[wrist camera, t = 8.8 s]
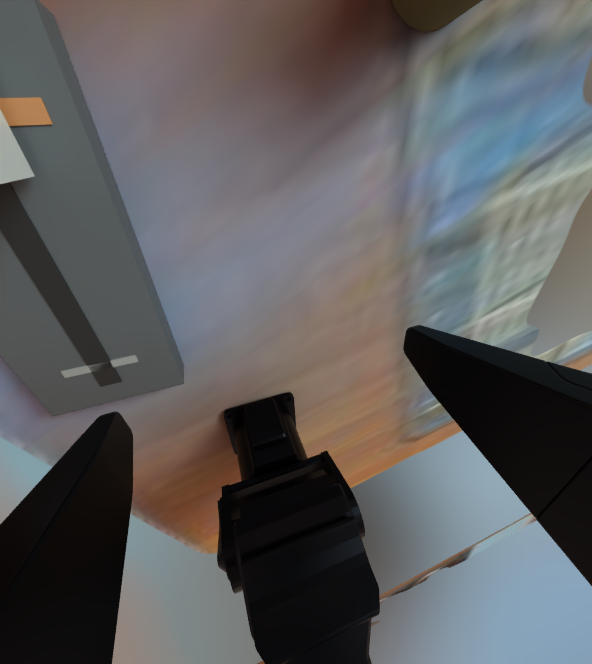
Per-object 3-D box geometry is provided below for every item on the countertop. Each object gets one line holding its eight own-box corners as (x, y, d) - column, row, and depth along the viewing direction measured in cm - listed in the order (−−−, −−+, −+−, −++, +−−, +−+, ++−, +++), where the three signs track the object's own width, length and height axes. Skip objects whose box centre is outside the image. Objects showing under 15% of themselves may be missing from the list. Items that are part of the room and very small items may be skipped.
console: (183, 365, 21) (183, 384, 19) (63, 394, 19) (51, 417, 18) (53, 15, 11) (30, -8, 9) (-237, 3, 9) (-335, -29, 7)
